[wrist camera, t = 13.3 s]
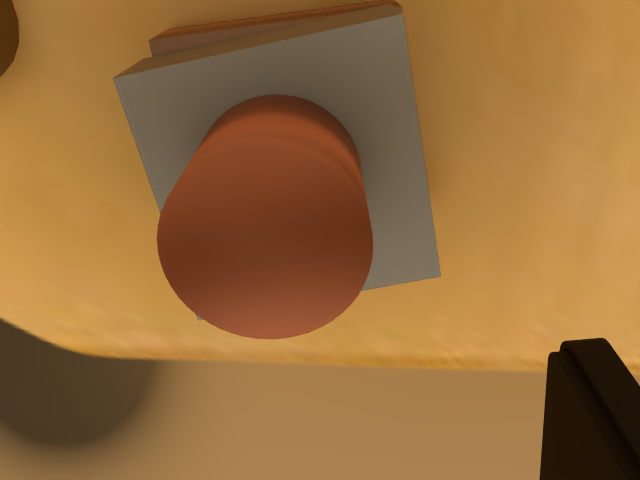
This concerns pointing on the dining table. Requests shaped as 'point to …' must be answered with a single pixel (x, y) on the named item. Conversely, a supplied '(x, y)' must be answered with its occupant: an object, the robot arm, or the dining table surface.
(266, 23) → the tower bottom block
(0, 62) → the cork
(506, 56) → the dining table surface
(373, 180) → the tower top block
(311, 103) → the reddish pink cylinder
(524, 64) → the dining table surface
